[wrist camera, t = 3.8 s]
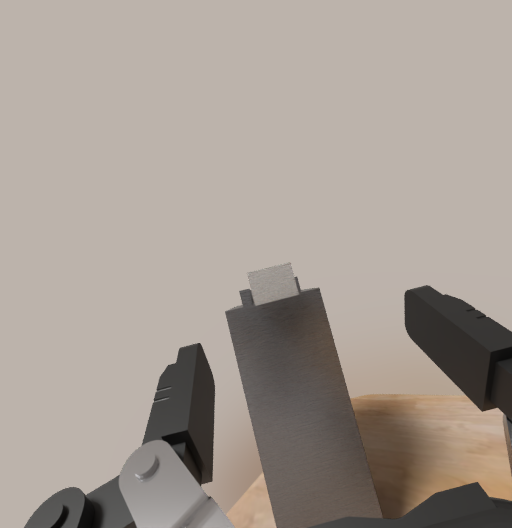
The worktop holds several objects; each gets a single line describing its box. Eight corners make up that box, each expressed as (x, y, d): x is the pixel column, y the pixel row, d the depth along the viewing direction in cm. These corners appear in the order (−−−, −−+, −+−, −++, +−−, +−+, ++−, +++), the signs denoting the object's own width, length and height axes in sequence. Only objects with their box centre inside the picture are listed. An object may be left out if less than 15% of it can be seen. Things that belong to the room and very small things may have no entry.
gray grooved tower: (396, 565, 32) (314, 272, 36) (292, 594, 32) (221, 295, 35) (353, 481, 46) (298, 278, 50) (282, 500, 46) (232, 295, 50)
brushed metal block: (298, 294, 25) (290, 262, 26) (255, 305, 25) (247, 273, 26) (280, 294, 47) (275, 277, 48) (257, 300, 47) (252, 283, 47)
